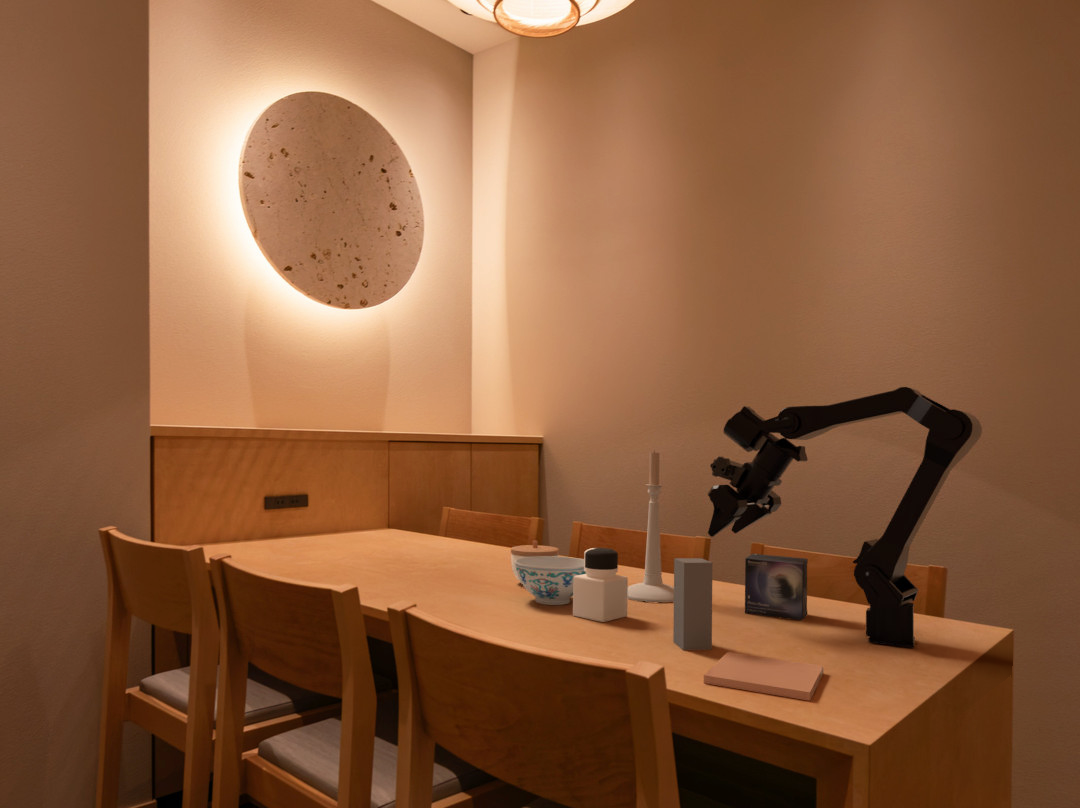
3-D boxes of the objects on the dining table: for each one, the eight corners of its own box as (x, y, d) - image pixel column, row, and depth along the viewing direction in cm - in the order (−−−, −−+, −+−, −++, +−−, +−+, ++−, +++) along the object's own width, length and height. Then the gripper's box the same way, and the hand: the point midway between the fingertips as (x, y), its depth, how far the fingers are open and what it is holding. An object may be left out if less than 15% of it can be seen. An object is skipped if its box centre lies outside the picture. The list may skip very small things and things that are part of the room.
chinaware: (546, 591, 156) (547, 554, 157) (605, 601, 147) (606, 562, 147) (498, 601, 145) (499, 561, 145) (559, 613, 135) (560, 570, 136)
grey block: (700, 641, 117) (701, 558, 118) (711, 649, 113) (712, 562, 113) (673, 642, 116) (674, 558, 117) (683, 650, 112) (684, 562, 113)
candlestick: (615, 599, 149) (617, 449, 151) (628, 588, 161) (630, 449, 163) (679, 605, 145) (681, 450, 147) (688, 593, 157) (689, 451, 159)
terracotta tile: (823, 673, 102) (823, 665, 102) (809, 700, 90) (809, 692, 90) (727, 659, 108) (727, 651, 108) (703, 683, 96) (703, 675, 96)
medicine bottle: (628, 616, 134) (629, 549, 134) (603, 623, 128) (604, 552, 129) (596, 610, 139) (598, 545, 139) (571, 616, 133) (573, 548, 134)
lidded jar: (567, 583, 166) (568, 540, 167) (542, 590, 157) (542, 545, 158) (527, 577, 172) (528, 536, 172) (500, 584, 163) (501, 541, 163)
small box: (743, 614, 138) (743, 557, 139) (750, 607, 144) (751, 553, 145) (802, 621, 133) (802, 562, 134) (808, 614, 139) (808, 557, 140)
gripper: (756, 442, 147) (714, 504, 152) (709, 440, 133) (665, 508, 138) (801, 477, 141) (756, 540, 146) (757, 478, 127) (709, 548, 132)
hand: (722, 533), depth 141 cm, fingers open, 9 cm apart
